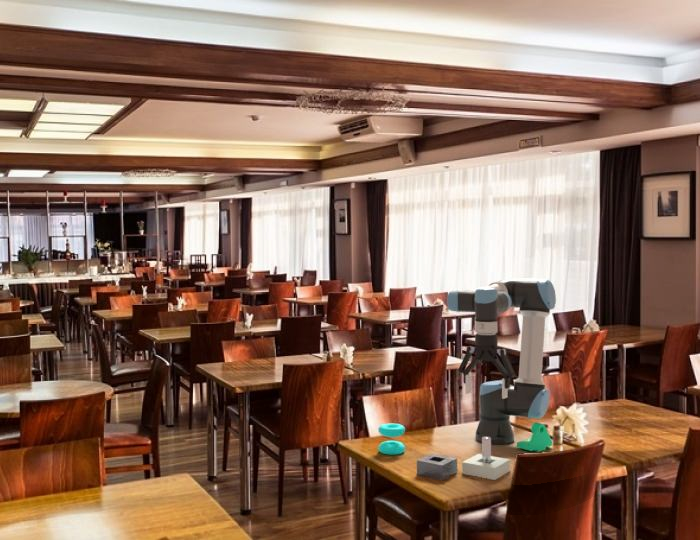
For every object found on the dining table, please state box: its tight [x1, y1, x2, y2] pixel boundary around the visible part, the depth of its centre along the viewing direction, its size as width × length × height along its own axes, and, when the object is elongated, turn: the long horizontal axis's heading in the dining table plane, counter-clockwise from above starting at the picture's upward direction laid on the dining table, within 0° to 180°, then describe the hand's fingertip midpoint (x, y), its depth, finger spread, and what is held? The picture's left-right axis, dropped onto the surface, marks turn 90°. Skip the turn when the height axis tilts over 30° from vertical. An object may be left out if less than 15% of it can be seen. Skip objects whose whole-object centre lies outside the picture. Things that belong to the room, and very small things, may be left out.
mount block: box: [416, 452, 458, 481], centre depth 254 cm, size 10×10×5 cm
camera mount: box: [516, 422, 553, 453], centre depth 284 cm, size 12×8×10 cm, turn 126°
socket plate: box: [461, 453, 511, 481], centre depth 255 cm, size 12×12×4 cm
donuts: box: [378, 422, 406, 456], centre depth 281 cm, size 10×10×10 cm
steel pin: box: [481, 437, 492, 464], centre depth 255 cm, size 3×3×12 cm
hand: (486, 395), depth 255 cm, fingers open, 13 cm apart
